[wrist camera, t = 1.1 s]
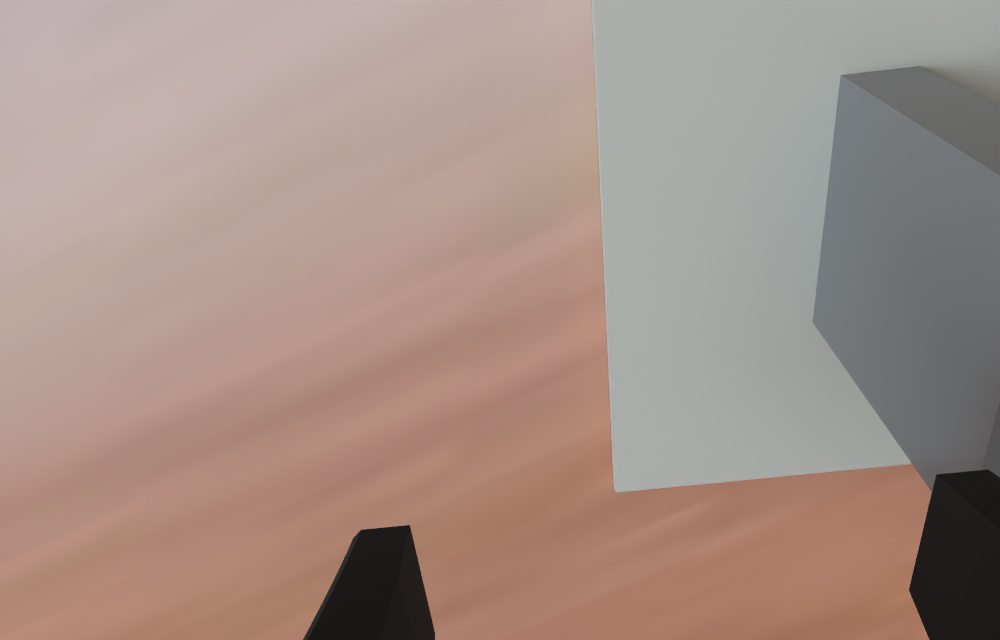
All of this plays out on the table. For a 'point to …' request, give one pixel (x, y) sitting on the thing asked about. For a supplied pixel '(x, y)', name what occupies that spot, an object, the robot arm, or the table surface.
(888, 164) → the glazed tile
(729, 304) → the felt mat
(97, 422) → the table surface
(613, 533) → the table surface
